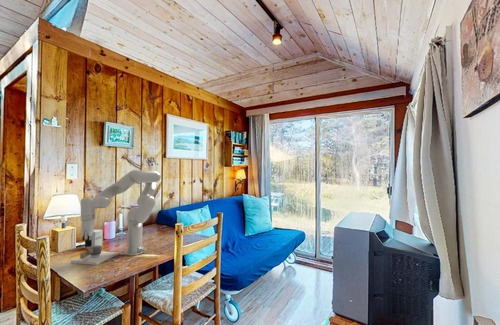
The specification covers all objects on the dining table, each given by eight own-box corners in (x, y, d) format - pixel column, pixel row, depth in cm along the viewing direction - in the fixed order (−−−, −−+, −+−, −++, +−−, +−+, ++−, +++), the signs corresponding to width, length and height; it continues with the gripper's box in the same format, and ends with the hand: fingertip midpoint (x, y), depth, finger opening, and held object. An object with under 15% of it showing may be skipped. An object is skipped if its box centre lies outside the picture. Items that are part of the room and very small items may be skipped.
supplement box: (94, 249, 173) (95, 232, 173) (86, 248, 175) (86, 231, 175) (102, 246, 180) (103, 229, 181) (94, 245, 182) (95, 229, 182)
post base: (117, 254, 163) (117, 250, 163) (95, 265, 145) (95, 260, 145) (93, 252, 166) (93, 248, 166) (68, 263, 148) (68, 258, 148)
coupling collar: (94, 251, 159) (94, 245, 159) (103, 251, 159) (103, 245, 159) (76, 260, 144) (76, 253, 144) (86, 260, 144) (86, 253, 144)
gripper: (84, 215, 154) (84, 243, 153) (77, 220, 140) (77, 251, 139) (98, 214, 156) (98, 242, 156) (91, 219, 142) (92, 249, 142)
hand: (88, 246), depth 148 cm, fingers closed
